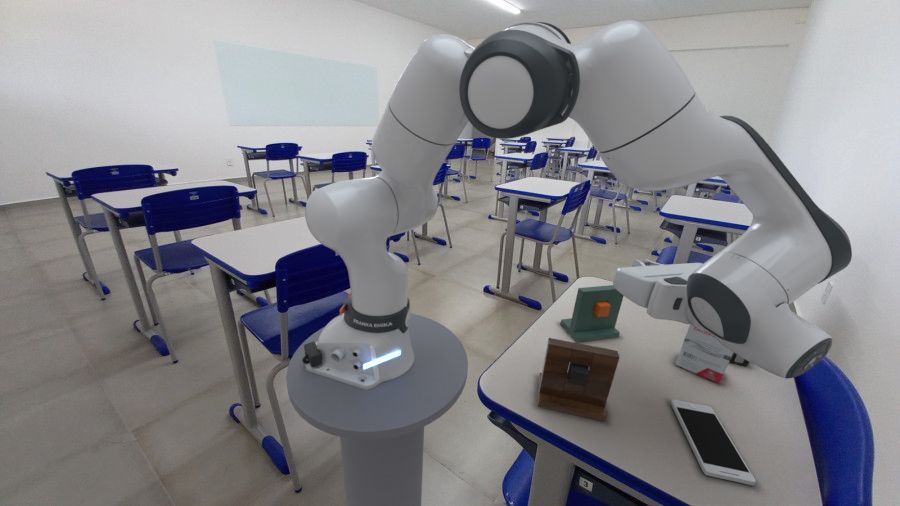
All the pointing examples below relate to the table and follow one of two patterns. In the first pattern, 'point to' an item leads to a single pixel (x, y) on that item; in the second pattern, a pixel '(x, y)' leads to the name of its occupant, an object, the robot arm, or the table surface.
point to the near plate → (569, 396)
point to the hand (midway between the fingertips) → (638, 262)
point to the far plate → (586, 322)
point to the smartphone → (711, 443)
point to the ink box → (704, 355)
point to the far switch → (601, 309)
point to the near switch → (578, 374)
